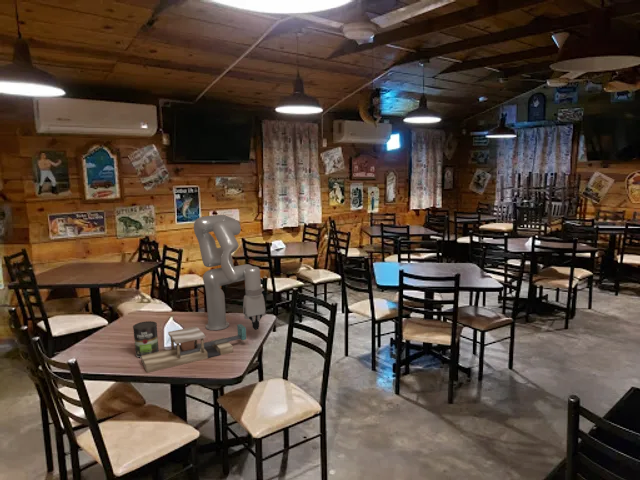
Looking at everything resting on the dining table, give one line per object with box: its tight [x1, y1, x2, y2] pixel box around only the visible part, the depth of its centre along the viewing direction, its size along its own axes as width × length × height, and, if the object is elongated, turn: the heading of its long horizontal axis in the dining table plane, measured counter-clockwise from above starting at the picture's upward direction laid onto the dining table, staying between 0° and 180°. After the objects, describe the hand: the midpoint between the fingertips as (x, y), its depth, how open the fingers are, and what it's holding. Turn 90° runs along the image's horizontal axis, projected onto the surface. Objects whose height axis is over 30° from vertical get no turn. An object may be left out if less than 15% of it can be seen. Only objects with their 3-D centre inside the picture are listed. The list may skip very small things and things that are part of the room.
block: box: [179, 340, 195, 351], centre depth 204 cm, size 5×5×5 cm
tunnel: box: [140, 325, 234, 374], centre depth 204 cm, size 14×38×11 cm, turn 121°
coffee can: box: [132, 320, 160, 359], centre depth 209 cm, size 10×10×14 cm
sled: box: [175, 323, 247, 356], centre depth 210 cm, size 9×31×6 cm, turn 121°
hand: (255, 328), depth 220 cm, fingers closed
